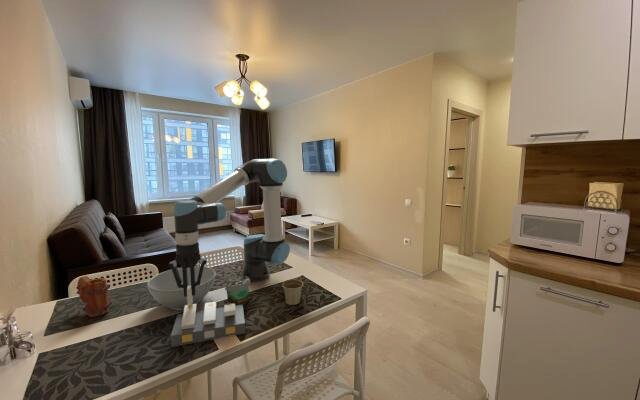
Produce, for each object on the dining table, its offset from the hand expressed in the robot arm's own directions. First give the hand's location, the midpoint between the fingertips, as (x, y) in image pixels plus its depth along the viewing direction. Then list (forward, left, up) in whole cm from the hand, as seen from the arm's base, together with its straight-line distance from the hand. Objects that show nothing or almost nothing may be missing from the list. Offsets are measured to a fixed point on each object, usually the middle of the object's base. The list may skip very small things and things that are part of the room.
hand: (190, 303), depth 100 cm
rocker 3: (+4, +14, -3) cm, 15 cm away
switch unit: (+4, +7, -9) cm, 12 cm away
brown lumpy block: (-23, -39, -9) cm, 46 cm away
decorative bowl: (-20, -5, -9) cm, 23 cm away
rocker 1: (+4, 0, -3) cm, 5 cm away
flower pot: (-6, +41, -9) cm, 43 cm away
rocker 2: (+4, +7, -3) cm, 9 cm away
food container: (-12, +19, -9) cm, 24 cm away
